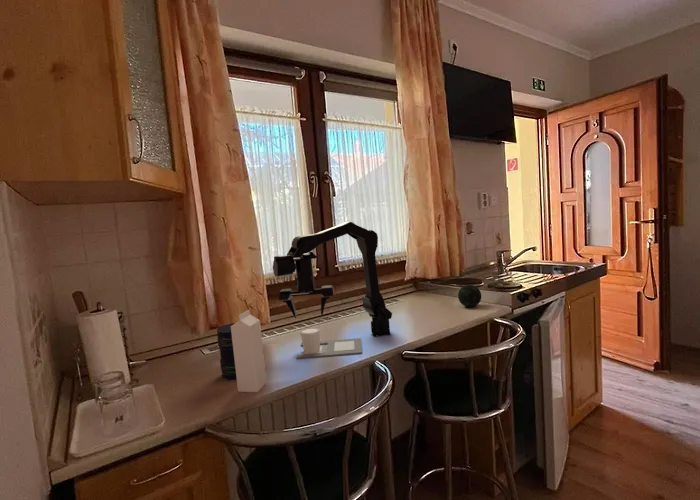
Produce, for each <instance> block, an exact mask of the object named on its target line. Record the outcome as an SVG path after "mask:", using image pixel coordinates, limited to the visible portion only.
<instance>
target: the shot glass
mask: <svg viewBox="0 0 700 500" xmlns="http://www.w3.org/2000/svg"><path fill="white" fill-rule="evenodd" d="M320 331H321V330H320V328H316V327H310V328H304V329H302V330H300V339H301V343H302V344H303V346H302V348H303V353H304V352H306V353H313V352H317V351H319V350H320V346H321V345H320V341H321V332H320Z"/></svg>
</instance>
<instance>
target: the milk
mask: <svg viewBox="0 0 700 500" xmlns="http://www.w3.org/2000/svg"><path fill="white" fill-rule="evenodd" d="M238 318H239V320H238V321H237V322H234V323H235V324H233V323H232V324H233V325H232V326H231V333H232V342H233V351H234V360H235V369H236V377H237V380H236V386H237V391H238V393H258V392H260V390H261V389H262V388H263V387H265V385H267V377H266V374H267V372H266V366H265V356H264V347H263V336H262V329H261V320H260V319H258V318H257V317H255V316H254V315H252V314H251V312H250V309H247V310H246V311H244V312H242V313H240V314H239V315H238Z"/></svg>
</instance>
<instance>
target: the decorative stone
mask: <svg viewBox="0 0 700 500" xmlns="http://www.w3.org/2000/svg"><path fill="white" fill-rule="evenodd" d="M457 298H458V301H459V303H460V305H462V306H464V307H467V308H474V307H477V305H479V304H480V302H481V301H482V293H481V290H480V288H478V287H477V286H476V285H473V284H466V285H463V286H462V287H461V288H460V289H459V291H458V292H457Z"/></svg>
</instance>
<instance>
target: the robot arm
mask: <svg viewBox="0 0 700 500" xmlns="http://www.w3.org/2000/svg"><path fill="white" fill-rule="evenodd" d="M345 235H348V236H349V237H351V238H352V239H354V240H355V241H356V243H357V247H358V249H359V251H360V253H361V256H362V262H363V271H364V272H363V273H364V279H365V288H366V291H365V292H366V293H365V296H361V300H362V308H364V311H365V312H367V314H368V315H369V316H368V317H371V321H370V330H371V334H372V336H373V337H381V336H391V335H392V334H391V330H390V328H391V327H390V320H391V319H392V317H393V312H391V310H389V309H388V308H387V307H386V303H385V298H384V297H383V295H382V294H381V291H380V285H379V278H378V277H379V275H378V268H377V259H376V258H377V257H376V252H377V248H378V247H379V246H378V245H379V244H378V241H379V236H378V233H377V232H376V231H374V230H372V229H366V228H365V227H363V226H360V225H357V224H356V223H354V222H353V221H344V222H343V223H340V224H338V225H336V226H332V227H330V228H327V229H324V230H322V231H318V232H317V233H316V232H315V233H312V234H311V233H310V234H309V233H308V234H305V235H298V236H295V237H294V238H293V239H292V241H291V247H290V248H289V250H288V252H287V253H286V255H276V256H273V262H272V270H273V275H274V276H275V278H278V277H285V276H292V275H293V274H294V273H296V277H295V278H294V284H295V287H296V288H297V290H293V289H292V288H290V287H289V288H282V289H281V290H279V292H278V294H277V295H278V296H277V297H278V300H279V301H282V302H283V303H286V305H287V306H288V308H289V310H290V311H291V313H292V315H293V317H294V319H297V311H296V306H295V301H294V297H299V296H311V295H312V296H313V295H321V298H320V315H321V317H323V315H324V310H325V306H326V302H327V300H329V299H330V298H331V297H333V296H334V294H335V291H334V290H335V289H334V285H332V284H330V285H329V284H328V285H322V286H321V288H316V281H315V278H314V270H313V259H318V255H317V254H315V253H314V252H313V251H314V250H316V249H317V247H319V246H320V245H322V244H324V243H327V242H329V241H332V240H334V239H337V238H341V237H343V236H345Z"/></svg>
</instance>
